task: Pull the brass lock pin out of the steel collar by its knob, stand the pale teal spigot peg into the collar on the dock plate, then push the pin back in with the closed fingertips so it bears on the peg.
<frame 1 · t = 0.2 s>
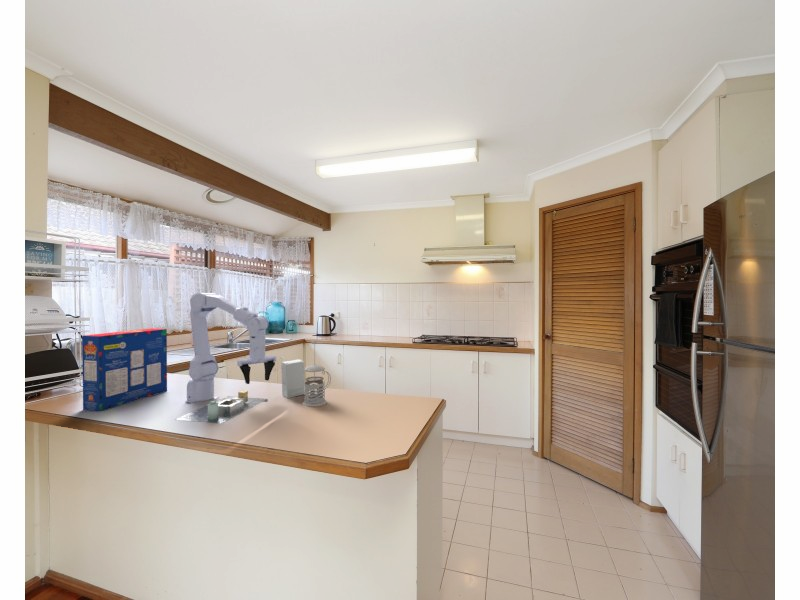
hand: (257, 381, 135), 9 cm above the countertop, fingers open, 7 cm apart
skincare box: (293, 395, 148), on the countertop
blue flat upright box: (128, 400, 141), on the countertop
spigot: (213, 418, 118), point 1 cm above the countertop, touching dock
dock: (225, 410, 128), on the countertop
french press: (316, 402, 139), on the countertop
lock pin: (236, 399, 130), point 4 cm above the countertop, slide at 0.0 cm
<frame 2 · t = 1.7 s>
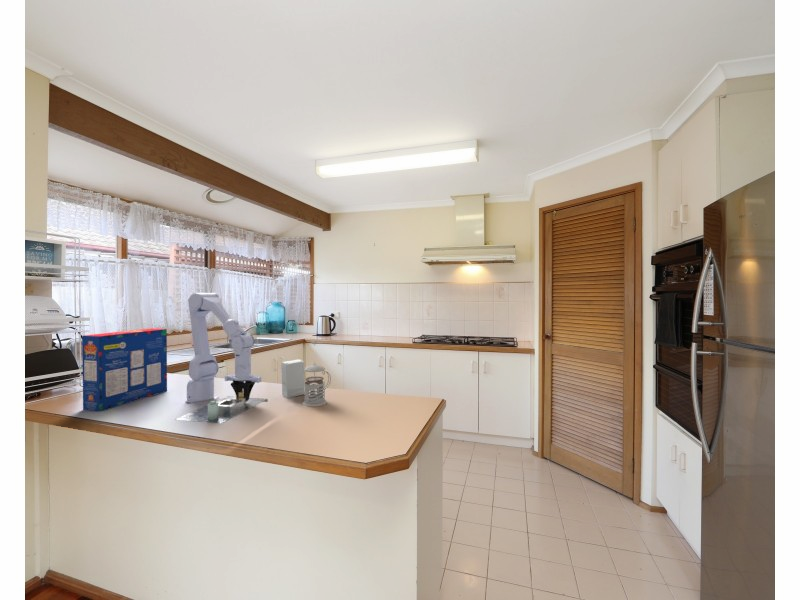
hand: (243, 399, 134), 2 cm above the countertop, fingers closed on lock pin, 2 cm apart
lock pin: (236, 399, 130), point 4 cm above the countertop, slide at 0.0 cm, touching gripper
everything else where it was.
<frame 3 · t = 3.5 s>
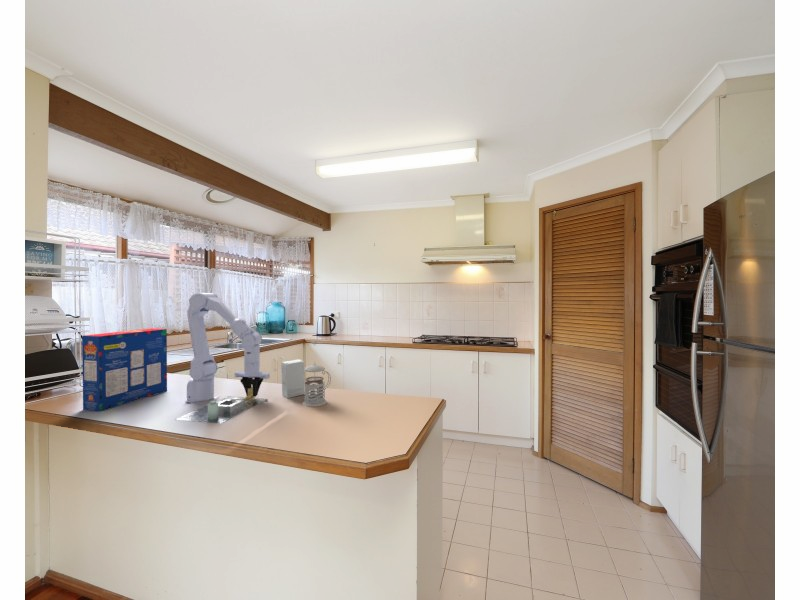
hand: (252, 395, 139), 2 cm above the countertop, fingers closed on lock pin, 2 cm apart
lock pin: (246, 395, 135), point 4 cm above the countertop, slide at 5.7 cm, touching gripper
everything else where it was.
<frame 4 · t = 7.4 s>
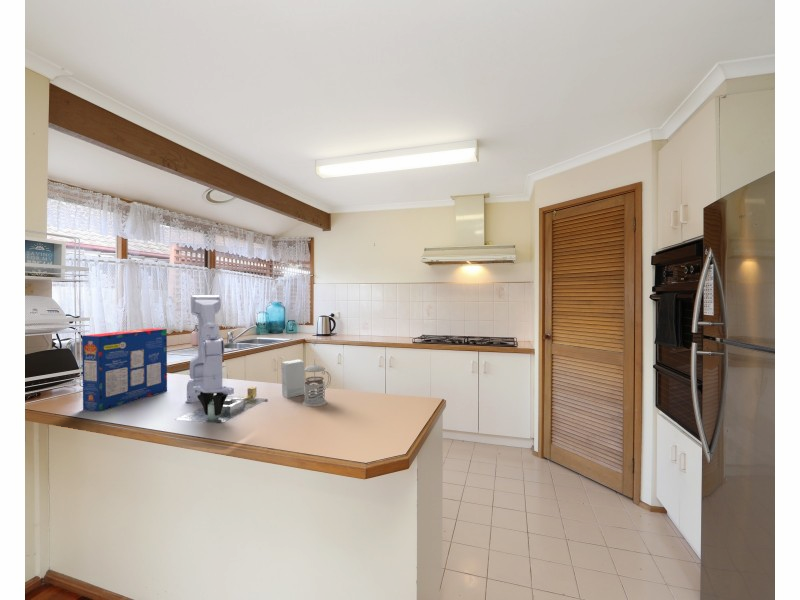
hand: (213, 414, 118), 2 cm above the countertop, fingers closed on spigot, 3 cm apart
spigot: (213, 418, 118), point 1 cm above the countertop, touching dock, gripper
lock pin: (246, 395, 135), point 4 cm above the countertop, slide at 5.7 cm
everything else where it was.
when the fingers open (5 cm above the countertop, at t = 9.9 s): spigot drops 2 cm, resting on dock.
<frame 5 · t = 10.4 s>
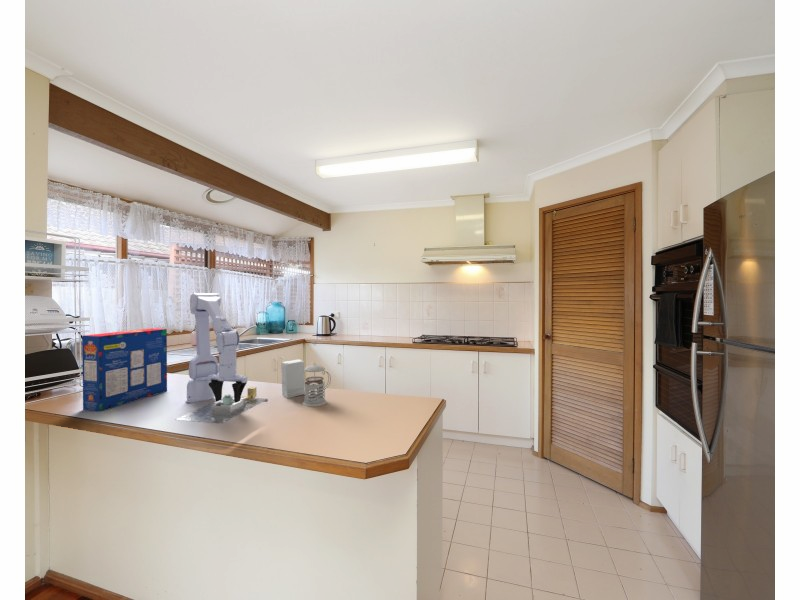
hand: (227, 401, 125), 5 cm above the countertop, fingers open, 7 cm apart
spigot: (227, 411, 125), point 1 cm above the countertop, touching dock
everything else where it was.
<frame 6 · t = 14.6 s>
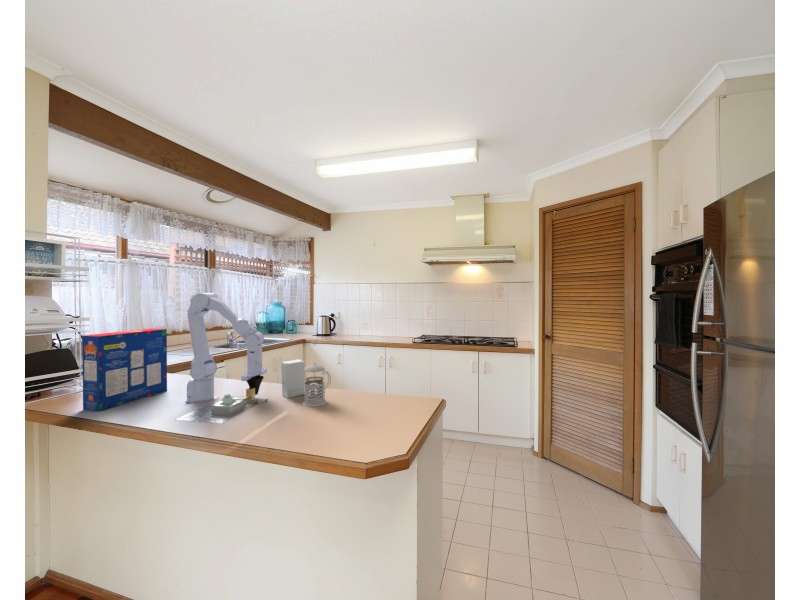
hand: (254, 394, 141), 2 cm above the countertop, fingers closed
lock pin: (244, 396, 135), point 4 cm above the countertop, slide at 4.8 cm, touching gripper
everything else where it was.
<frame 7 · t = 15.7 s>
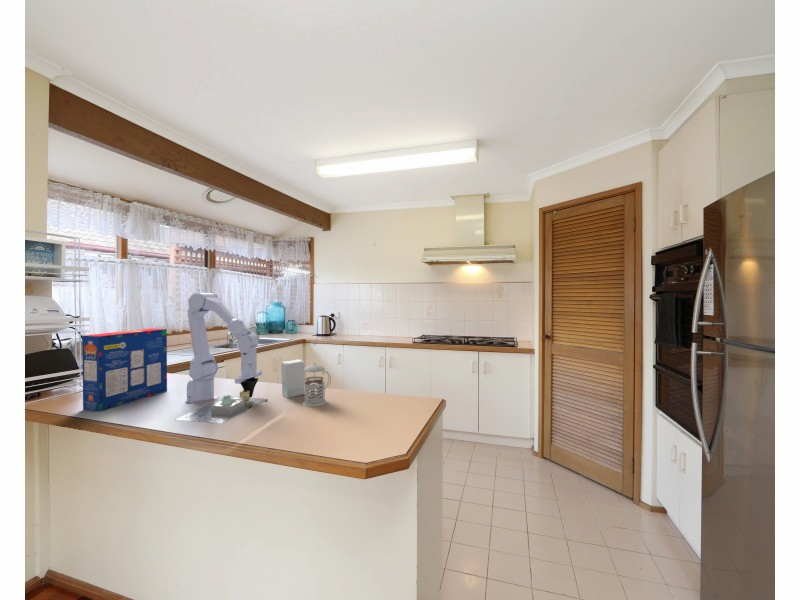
hand: (248, 397, 137), 2 cm above the countertop, fingers closed
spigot: (226, 411, 124), point 1 cm above the countertop, touching dock, lock pin
lock pin: (238, 399, 131), point 4 cm above the countertop, slide at 0.9 cm, touching gripper, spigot
everything else where it was.
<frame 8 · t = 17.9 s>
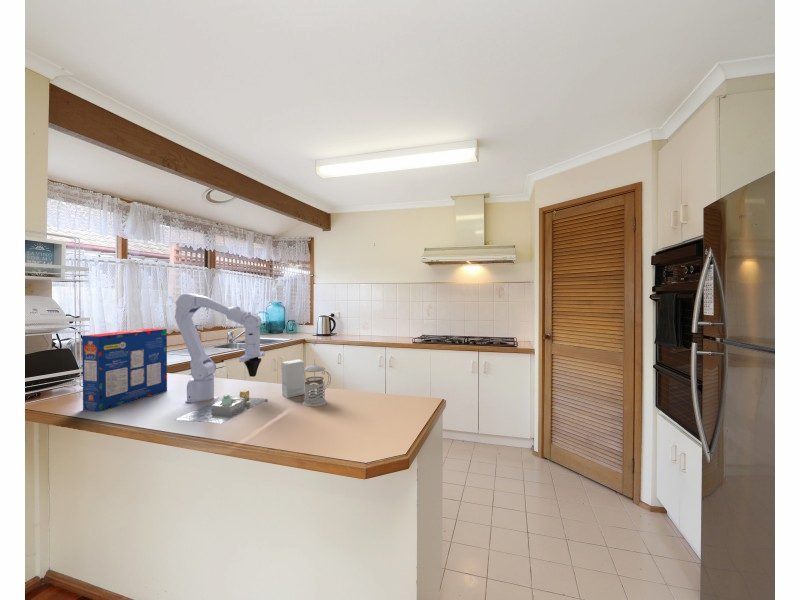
hand: (252, 376, 143), 9 cm above the countertop, fingers closed
lock pin: (238, 399, 131), point 4 cm above the countertop, slide at 0.9 cm, touching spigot
everything else where it was.
at the end: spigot 0.6 cm from the target spot on the dock, point 1.0 cm above the dock's base; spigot tilted 0°; lock pin slide at 0.9 cm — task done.
